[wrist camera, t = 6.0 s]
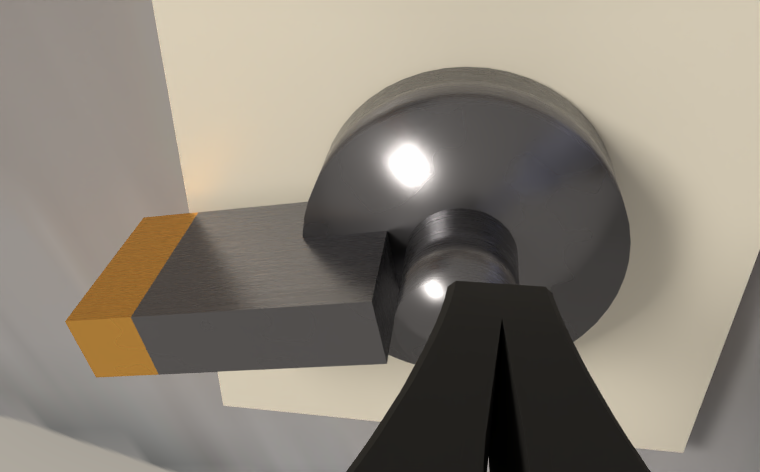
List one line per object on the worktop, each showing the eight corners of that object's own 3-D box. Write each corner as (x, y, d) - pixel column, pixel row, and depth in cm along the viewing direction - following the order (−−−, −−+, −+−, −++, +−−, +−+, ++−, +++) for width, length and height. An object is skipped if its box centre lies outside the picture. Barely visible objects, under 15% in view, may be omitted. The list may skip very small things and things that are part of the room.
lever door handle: (615, 45, 14) (658, 142, 11) (616, 310, 18) (648, 448, 14) (109, 112, 17) (3, 210, 13) (203, 334, 20) (141, 458, 17)
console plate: (892, -179, 12) (925, -174, 12) (675, 426, 21) (684, 458, 20) (141, -188, 14) (114, -185, 13) (233, 382, 23) (221, 410, 22)
